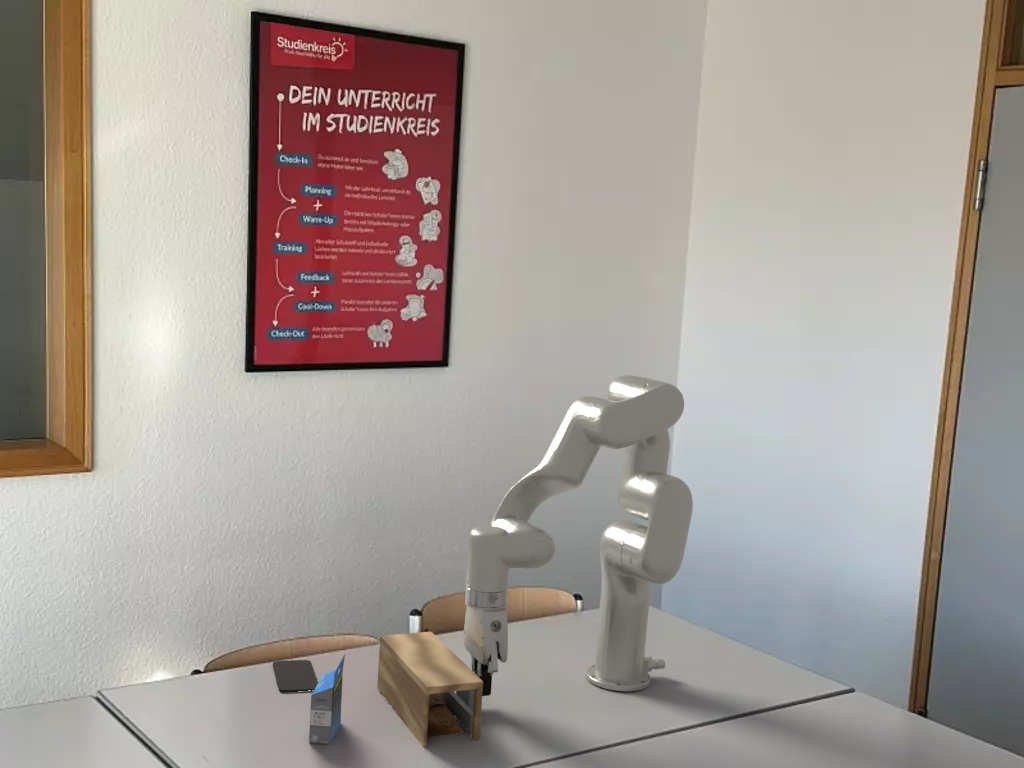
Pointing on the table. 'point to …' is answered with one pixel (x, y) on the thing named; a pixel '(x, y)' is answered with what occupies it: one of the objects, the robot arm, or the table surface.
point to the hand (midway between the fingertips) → (481, 694)
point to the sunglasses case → (441, 718)
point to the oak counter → (423, 678)
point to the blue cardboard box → (326, 707)
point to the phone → (295, 675)
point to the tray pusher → (460, 705)
